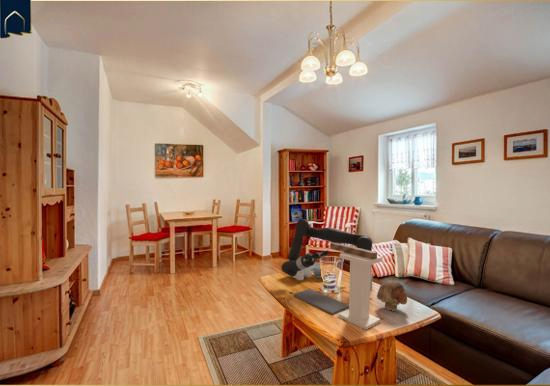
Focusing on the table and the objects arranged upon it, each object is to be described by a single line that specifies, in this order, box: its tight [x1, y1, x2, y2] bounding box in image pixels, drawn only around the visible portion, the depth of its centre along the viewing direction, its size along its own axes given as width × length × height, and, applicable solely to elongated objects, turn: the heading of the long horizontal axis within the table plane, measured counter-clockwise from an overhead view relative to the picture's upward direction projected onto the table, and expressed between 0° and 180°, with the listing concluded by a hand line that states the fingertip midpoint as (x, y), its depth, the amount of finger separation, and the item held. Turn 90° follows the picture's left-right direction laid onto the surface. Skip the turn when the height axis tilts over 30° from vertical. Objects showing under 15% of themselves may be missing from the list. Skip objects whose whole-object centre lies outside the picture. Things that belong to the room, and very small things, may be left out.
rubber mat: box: [292, 288, 349, 316], centre depth 159 cm, size 30×14×1 cm, turn 38°
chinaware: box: [311, 262, 321, 278], centre depth 202 cm, size 15×15×8 cm
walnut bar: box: [329, 242, 378, 260], centre depth 142 cm, size 26×3×3 cm, turn 38°
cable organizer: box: [291, 266, 312, 281], centre depth 198 cm, size 15×11×12 cm
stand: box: [337, 252, 383, 330], centre depth 138 cm, size 16×12×32 cm
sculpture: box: [376, 280, 408, 312], centre depth 150 cm, size 15×16×15 cm
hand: (323, 253), depth 157 cm, fingers open, 8 cm apart
